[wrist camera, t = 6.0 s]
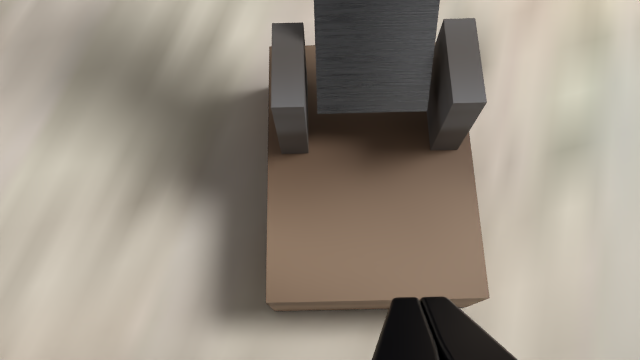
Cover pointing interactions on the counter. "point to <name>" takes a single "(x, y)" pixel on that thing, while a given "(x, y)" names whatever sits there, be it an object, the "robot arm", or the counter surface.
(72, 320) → the counter surface
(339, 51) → the nutcracker lever
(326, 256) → the stand
